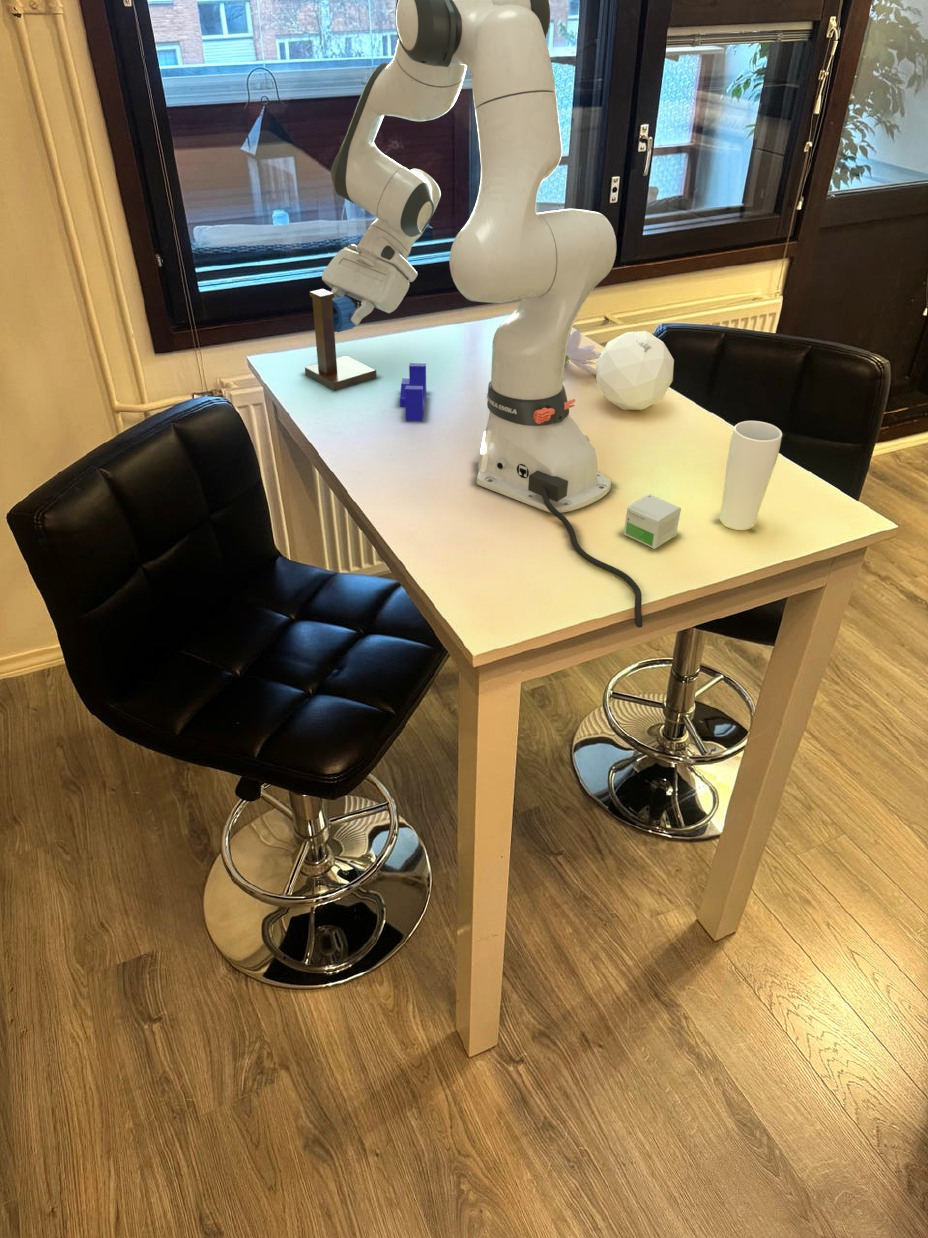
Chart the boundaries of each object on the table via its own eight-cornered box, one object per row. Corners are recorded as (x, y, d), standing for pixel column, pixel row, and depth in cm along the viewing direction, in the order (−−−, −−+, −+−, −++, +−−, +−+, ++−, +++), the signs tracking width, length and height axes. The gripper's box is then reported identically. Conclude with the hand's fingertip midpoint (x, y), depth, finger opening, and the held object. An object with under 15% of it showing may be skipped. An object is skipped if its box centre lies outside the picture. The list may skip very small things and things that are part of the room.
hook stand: (347, 362, 183) (342, 277, 172) (377, 377, 177) (373, 290, 167) (305, 374, 177) (297, 287, 167) (334, 390, 171) (327, 301, 161)
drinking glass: (726, 506, 139) (746, 415, 130) (767, 521, 136) (791, 429, 127) (705, 523, 135) (725, 431, 126) (747, 539, 131) (770, 445, 122)
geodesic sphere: (700, 392, 159) (684, 311, 158) (629, 403, 155) (612, 320, 154) (657, 413, 173) (642, 339, 173) (591, 424, 169) (575, 348, 168)
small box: (622, 535, 132) (626, 505, 129) (645, 521, 135) (650, 492, 132) (654, 550, 129) (659, 521, 126) (677, 536, 132) (682, 506, 129)
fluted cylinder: (340, 323, 175) (338, 292, 171) (358, 332, 171) (356, 300, 168) (325, 327, 173) (323, 295, 169) (343, 336, 169) (341, 303, 166)
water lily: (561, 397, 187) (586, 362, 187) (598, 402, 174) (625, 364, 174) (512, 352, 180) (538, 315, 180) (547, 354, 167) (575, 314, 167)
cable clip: (402, 393, 171) (401, 362, 167) (426, 393, 171) (426, 363, 167) (397, 420, 161) (396, 388, 158) (422, 421, 161) (422, 389, 158)
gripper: (338, 232, 173) (299, 293, 174) (403, 256, 161) (362, 322, 162) (358, 252, 179) (321, 312, 179) (423, 277, 166) (383, 341, 167)
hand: (341, 317), depth 171 cm, fingers closed on fluted cylinder, 6 cm apart
